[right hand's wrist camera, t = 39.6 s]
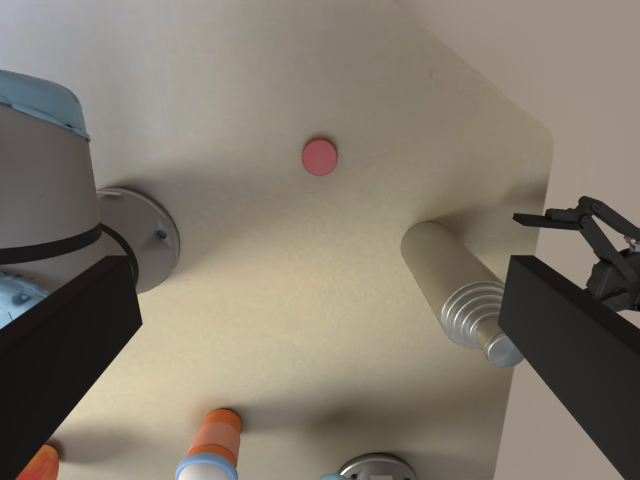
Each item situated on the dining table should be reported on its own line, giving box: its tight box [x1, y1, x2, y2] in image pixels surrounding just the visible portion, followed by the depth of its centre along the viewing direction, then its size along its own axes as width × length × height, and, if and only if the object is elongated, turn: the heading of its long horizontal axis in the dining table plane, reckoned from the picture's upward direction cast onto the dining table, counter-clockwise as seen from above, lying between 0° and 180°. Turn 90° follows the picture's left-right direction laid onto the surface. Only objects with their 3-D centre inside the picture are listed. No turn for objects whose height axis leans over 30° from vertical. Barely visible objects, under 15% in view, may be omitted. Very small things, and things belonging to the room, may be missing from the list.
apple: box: [15, 445, 59, 480], centre depth 60 cm, size 10×10×10 cm
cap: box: [302, 138, 338, 176], centre depth 46 cm, size 4×4×2 cm
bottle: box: [401, 222, 525, 368], centre depth 40 cm, size 7×7×24 cm
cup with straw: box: [175, 409, 241, 480], centre depth 54 cm, size 9×9×18 cm
